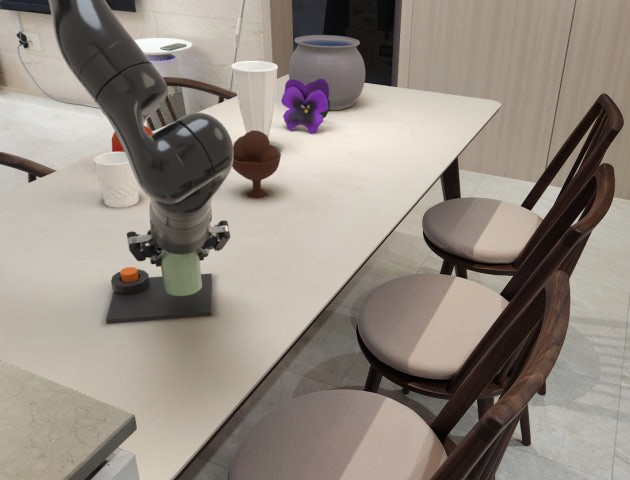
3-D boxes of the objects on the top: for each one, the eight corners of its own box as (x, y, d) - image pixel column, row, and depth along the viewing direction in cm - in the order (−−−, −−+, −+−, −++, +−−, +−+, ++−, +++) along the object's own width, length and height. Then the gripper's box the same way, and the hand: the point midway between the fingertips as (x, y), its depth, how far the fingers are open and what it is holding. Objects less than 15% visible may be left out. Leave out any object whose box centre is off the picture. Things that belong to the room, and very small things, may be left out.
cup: (267, 141, 173) (264, 59, 162) (288, 153, 165) (286, 67, 154) (228, 148, 166) (222, 62, 156) (248, 161, 159) (243, 72, 148)
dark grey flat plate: (105, 327, 94) (102, 310, 92) (116, 286, 104) (113, 270, 103) (211, 319, 97) (210, 302, 95) (212, 279, 107) (210, 264, 106)
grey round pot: (310, 90, 224) (310, 31, 214) (375, 100, 216) (378, 39, 206) (274, 106, 204) (272, 41, 194) (345, 117, 196) (346, 50, 186)
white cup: (111, 214, 128) (103, 167, 123) (95, 202, 133) (87, 156, 128) (148, 205, 133) (142, 159, 128) (132, 193, 137) (125, 149, 132)
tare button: (120, 283, 100) (119, 275, 99) (122, 275, 102) (121, 267, 101) (137, 282, 100) (136, 274, 99) (139, 274, 102) (138, 266, 102)
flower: (291, 137, 194) (273, 126, 181) (300, 88, 193) (283, 74, 180) (336, 143, 190) (321, 133, 177) (345, 93, 189) (331, 79, 176)
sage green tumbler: (163, 297, 94) (156, 249, 90) (165, 279, 99) (159, 232, 95) (201, 294, 96) (196, 247, 92) (202, 276, 100) (197, 231, 96)
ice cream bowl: (292, 195, 141) (291, 128, 133) (258, 210, 133) (254, 140, 125) (256, 183, 146) (253, 118, 138) (221, 198, 137) (216, 130, 130)
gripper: (231, 184, 85) (221, 228, 100) (116, 195, 80) (125, 240, 95) (242, 236, 83) (230, 273, 98) (125, 251, 78) (132, 288, 93)
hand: (178, 257), depth 97 cm, fingers closed on sage green tumbler, 5 cm apart
